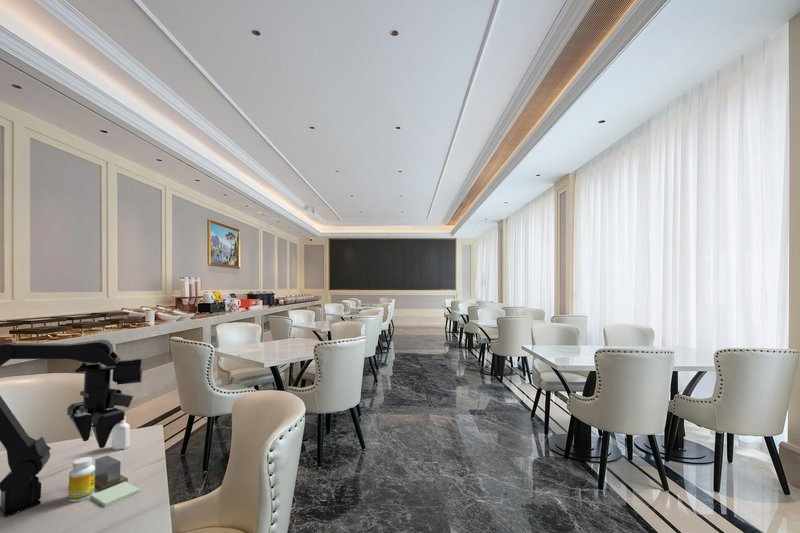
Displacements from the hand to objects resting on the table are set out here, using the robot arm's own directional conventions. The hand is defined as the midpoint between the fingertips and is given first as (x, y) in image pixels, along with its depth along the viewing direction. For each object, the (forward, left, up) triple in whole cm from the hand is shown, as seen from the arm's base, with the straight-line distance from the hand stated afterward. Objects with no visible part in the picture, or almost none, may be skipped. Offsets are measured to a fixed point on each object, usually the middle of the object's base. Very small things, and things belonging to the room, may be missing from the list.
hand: (93, 444), depth 104 cm
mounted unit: (+4, +2, -13) cm, 13 cm away
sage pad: (+2, -8, -13) cm, 15 cm away
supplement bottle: (-3, -1, -13) cm, 13 cm away
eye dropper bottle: (+17, +25, -13) cm, 33 cm away
